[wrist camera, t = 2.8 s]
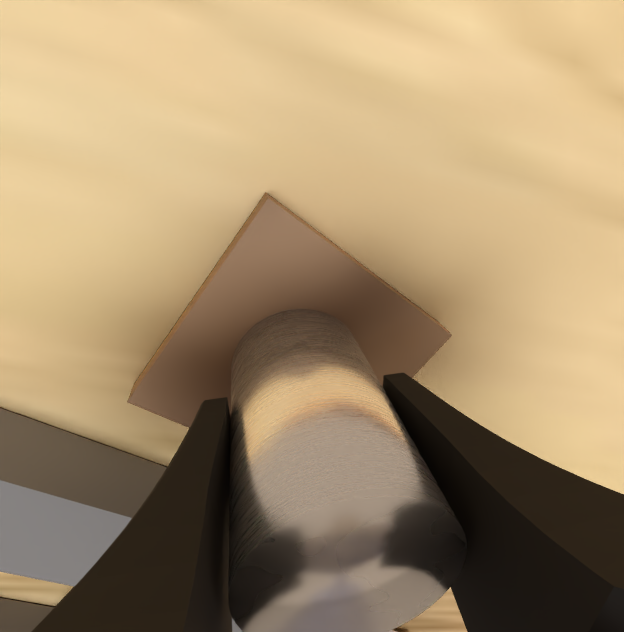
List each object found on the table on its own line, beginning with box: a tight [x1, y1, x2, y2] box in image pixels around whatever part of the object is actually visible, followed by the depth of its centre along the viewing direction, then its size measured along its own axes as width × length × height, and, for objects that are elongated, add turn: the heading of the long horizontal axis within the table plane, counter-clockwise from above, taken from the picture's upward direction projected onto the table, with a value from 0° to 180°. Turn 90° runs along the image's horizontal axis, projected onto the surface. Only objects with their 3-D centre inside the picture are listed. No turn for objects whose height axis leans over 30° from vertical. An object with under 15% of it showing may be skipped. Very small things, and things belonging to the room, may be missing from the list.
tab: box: [127, 193, 452, 428], centre depth 13 cm, size 8×8×1 cm
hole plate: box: [0, 408, 243, 632], centre depth 15 cm, size 18×14×3 cm
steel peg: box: [228, 309, 467, 632], centre depth 10 cm, size 4×4×7 cm
